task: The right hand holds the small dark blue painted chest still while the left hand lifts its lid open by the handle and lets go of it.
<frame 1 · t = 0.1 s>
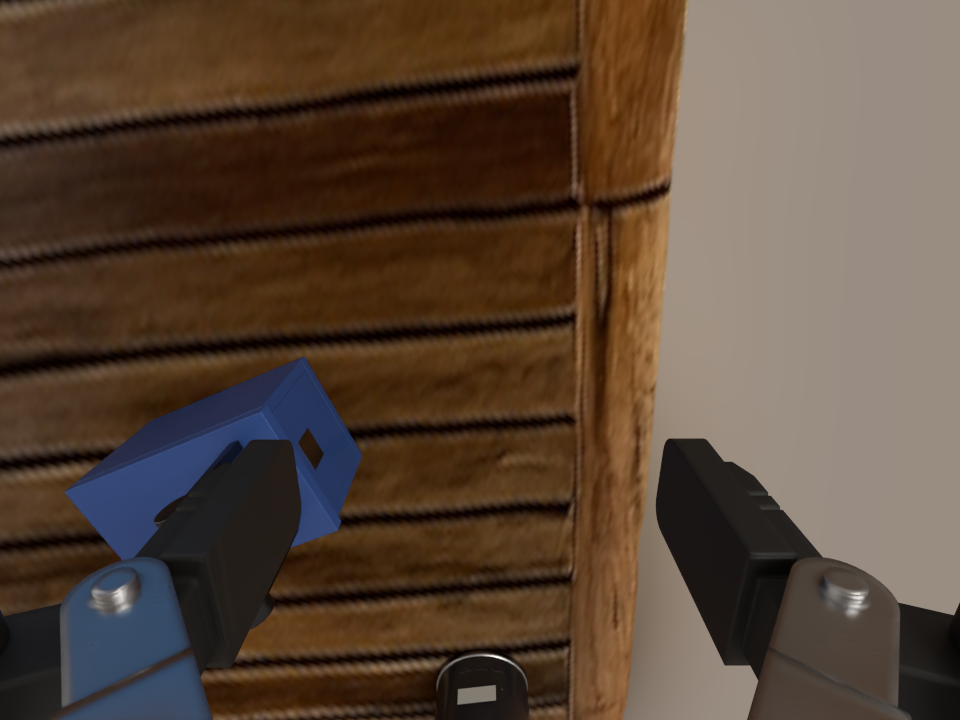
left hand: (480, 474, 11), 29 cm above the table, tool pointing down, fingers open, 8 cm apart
chest: (258, 438, 45), on the table
lid: (175, 547, 32), point 13 cm above the table, hinge at 0.0°
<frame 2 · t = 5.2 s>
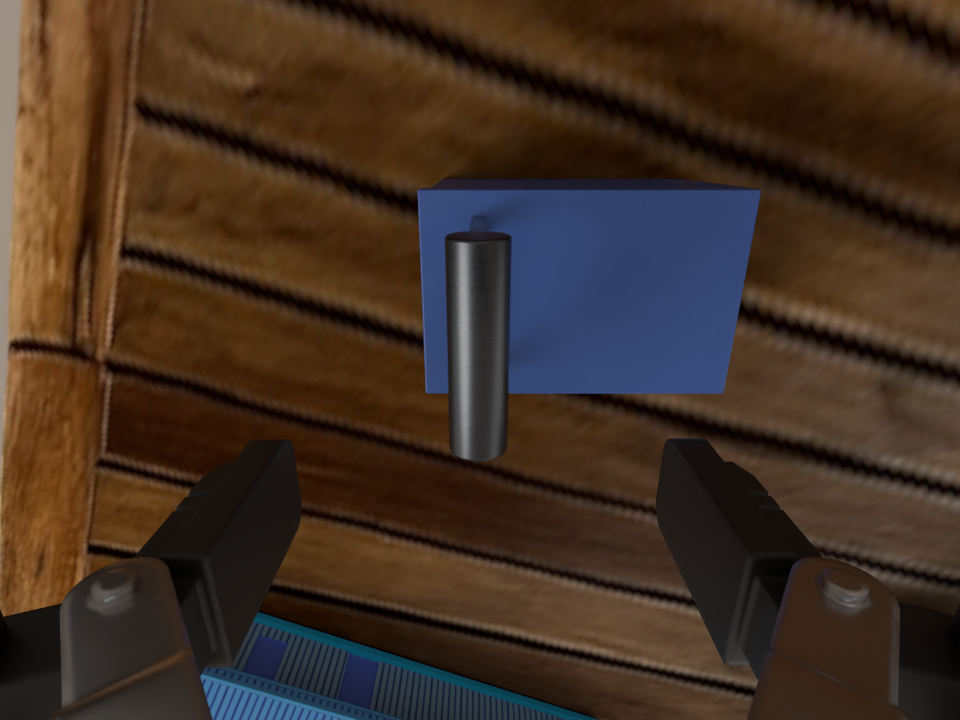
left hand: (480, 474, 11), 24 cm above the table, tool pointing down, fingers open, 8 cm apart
chest: (557, 259, 34), on the table
lid: (596, 320, 22), point 13 cm above the table, hinge at 0.0°
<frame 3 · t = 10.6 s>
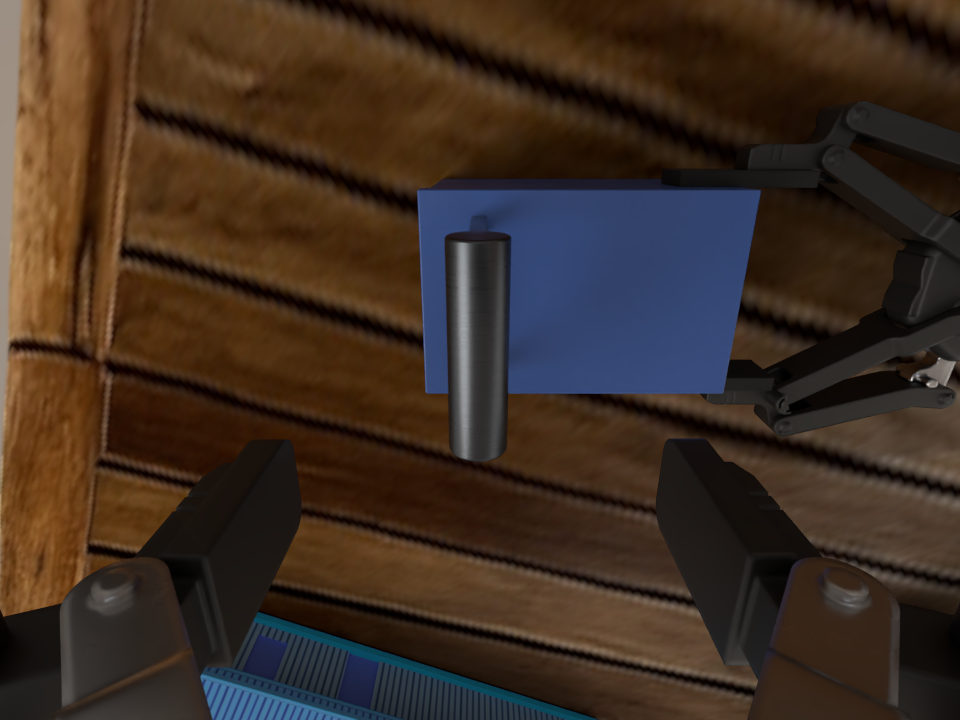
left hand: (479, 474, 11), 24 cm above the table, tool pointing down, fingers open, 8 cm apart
right hand: (657, 283, 28), fingers closed on chest, 10 cm apart
chest: (557, 259, 34), on the table, touching right hand
lid: (596, 320, 22), point 13 cm above the table, hinge at 0.0°
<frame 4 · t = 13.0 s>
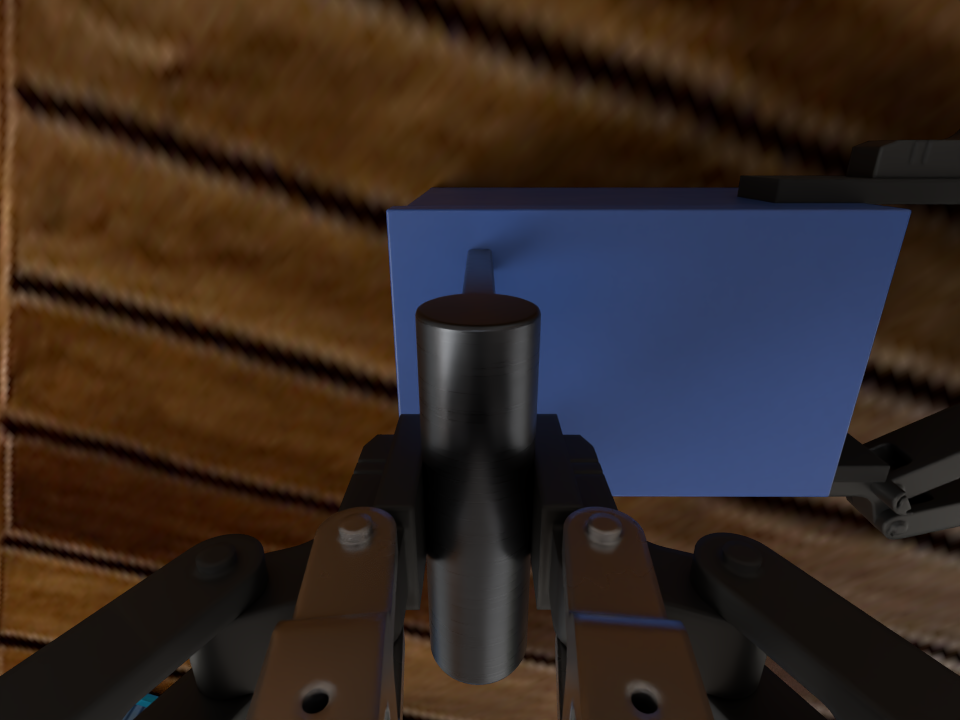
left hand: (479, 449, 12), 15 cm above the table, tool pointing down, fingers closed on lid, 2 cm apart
chest: (582, 292, 26), on the table, touching right hand
lid: (665, 418, 14), point 13 cm above the table, hinge at -0.1°, touching left hand
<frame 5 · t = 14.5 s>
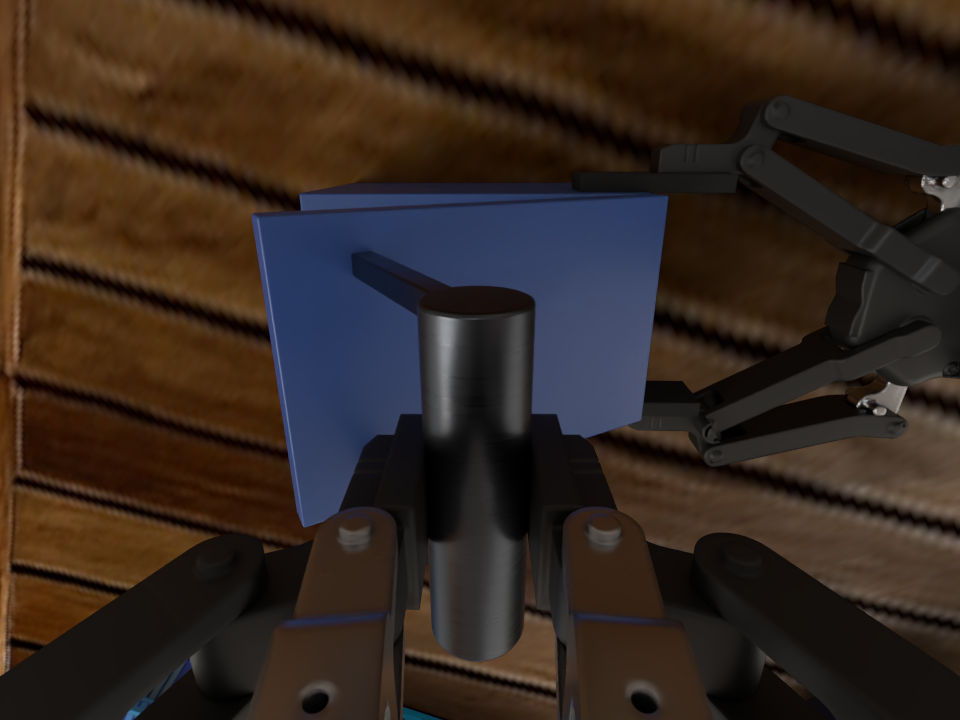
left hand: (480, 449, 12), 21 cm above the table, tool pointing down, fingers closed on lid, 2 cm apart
right hand: (568, 297, 25), fingers closed on chest, 10 cm apart
chest: (481, 269, 32), on the table, touching right hand
lid: (562, 380, 16), point 17 cm above the table, hinge at 31.2°, touching left hand
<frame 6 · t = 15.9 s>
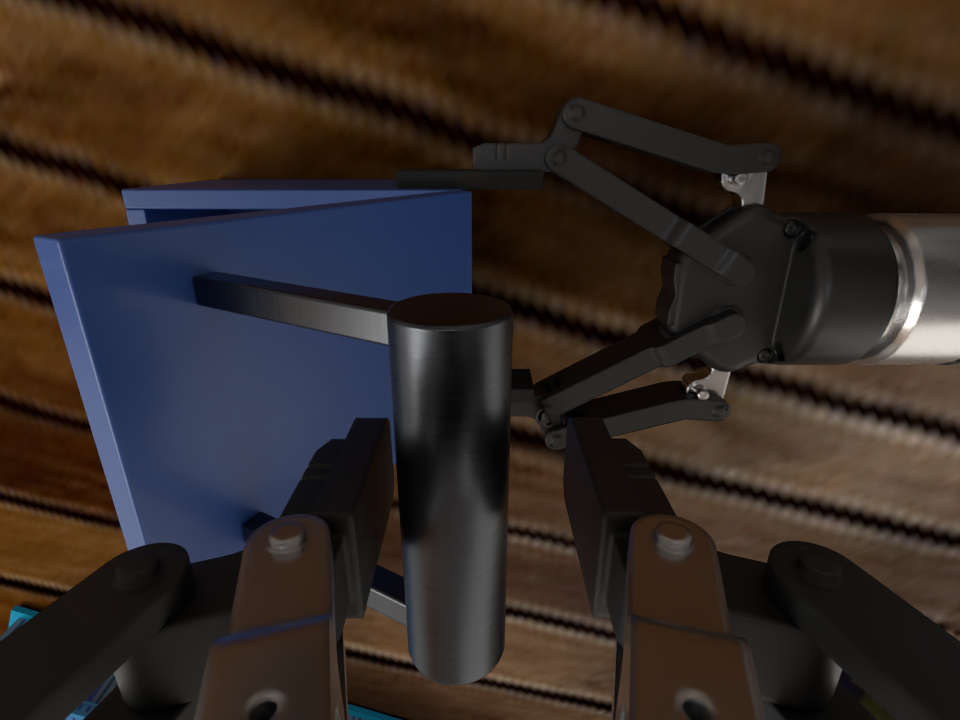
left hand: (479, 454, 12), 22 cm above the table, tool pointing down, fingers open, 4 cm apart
right hand: (406, 289, 27), fingers closed on chest, 10 cm apart
chest: (348, 263, 33), on the table, touching right hand
lid: (445, 379, 16), point 18 cm above the table, hinge at 60.3°
globe: (734, 692, 47), on the table
when the right hand's fingers open (7 cm above the table, at t = 19.8 s): chest stays where it is, on the table.
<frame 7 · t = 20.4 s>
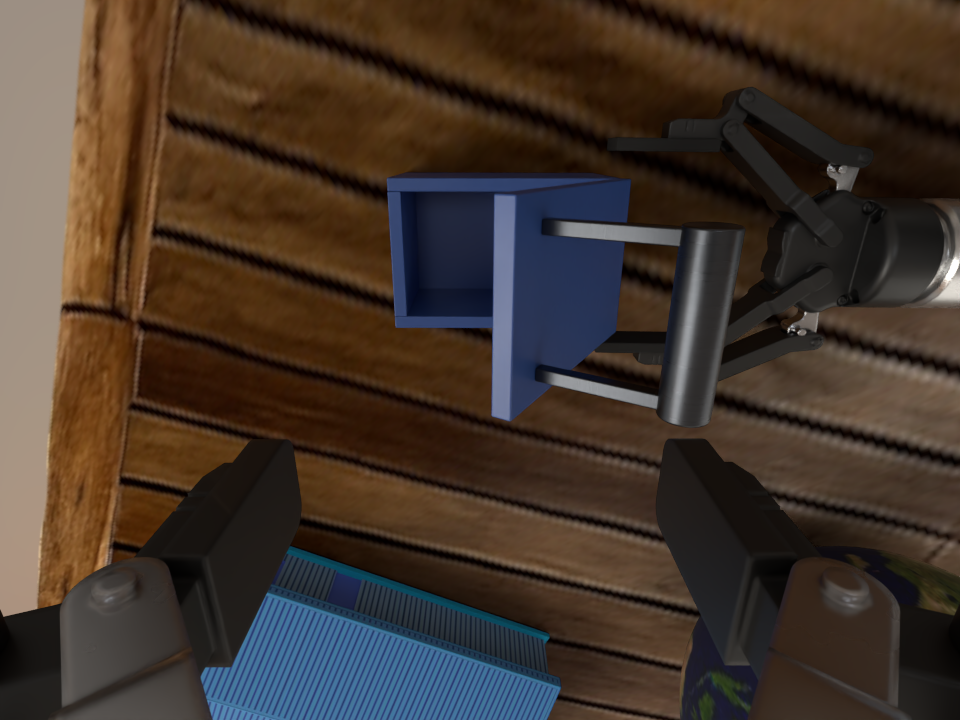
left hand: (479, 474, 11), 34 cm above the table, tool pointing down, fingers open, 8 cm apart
right hand: (600, 249, 37), fingers open, 13 cm apart
model building: (350, 650, 60), on the table
chest: (498, 236, 43), on the table
lid: (644, 290, 26), point 18 cm above the table, hinge at 58.7°
globe: (778, 594, 57), on the table
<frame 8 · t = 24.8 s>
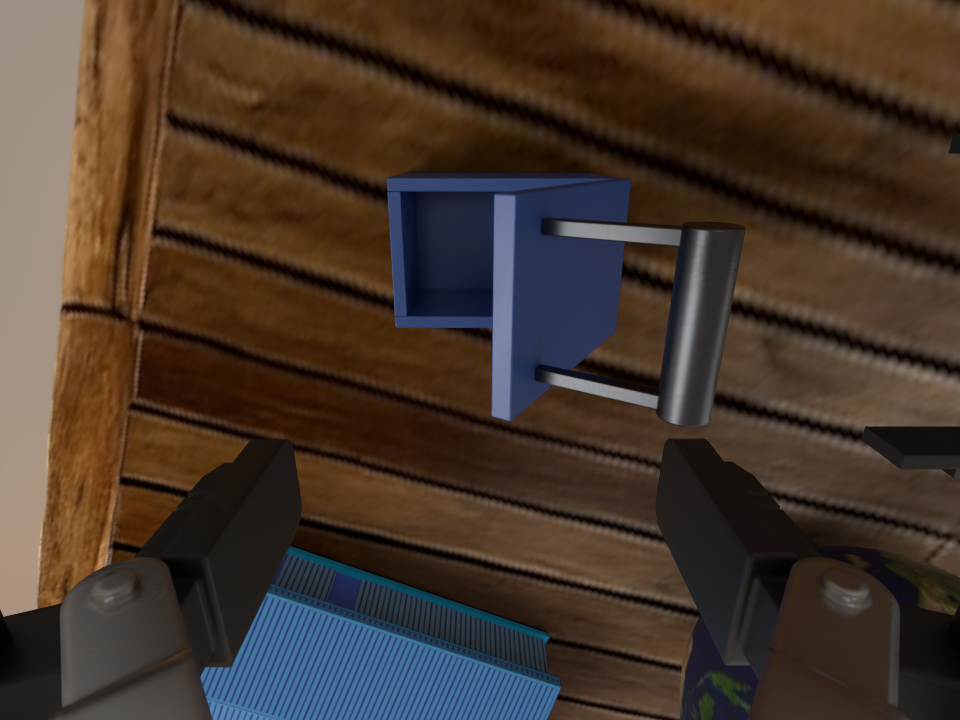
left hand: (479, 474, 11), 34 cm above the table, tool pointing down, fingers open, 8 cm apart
model building: (350, 650, 60), on the table
chest: (498, 236, 43), on the table
lid: (644, 290, 26), point 18 cm above the table, hinge at 58.7°
globe: (778, 594, 57), on the table
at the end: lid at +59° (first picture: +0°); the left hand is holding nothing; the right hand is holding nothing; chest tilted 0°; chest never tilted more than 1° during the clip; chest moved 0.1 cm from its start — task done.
